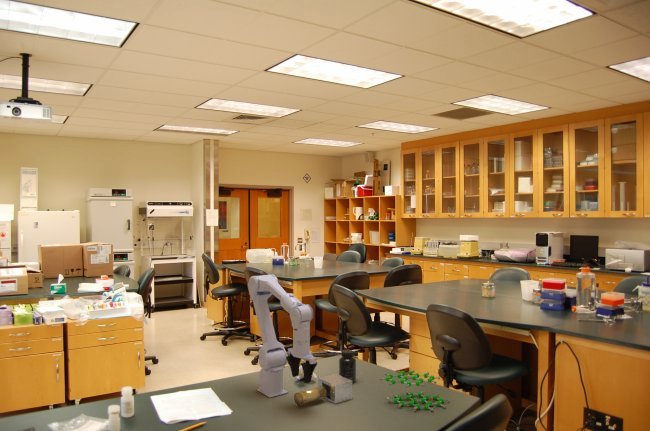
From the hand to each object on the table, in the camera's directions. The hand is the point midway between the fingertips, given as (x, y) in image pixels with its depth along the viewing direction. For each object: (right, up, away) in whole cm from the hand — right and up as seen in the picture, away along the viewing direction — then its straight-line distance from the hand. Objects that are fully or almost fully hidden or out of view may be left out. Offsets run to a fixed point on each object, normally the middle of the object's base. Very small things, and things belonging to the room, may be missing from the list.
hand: (301, 379), depth 171 cm
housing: (+12, -9, +9) cm, 17 cm away
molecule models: (+40, -10, +4) cm, 41 cm away
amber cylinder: (+3, -8, +2) cm, 9 cm away
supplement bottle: (+17, -9, +25) cm, 32 cm away
